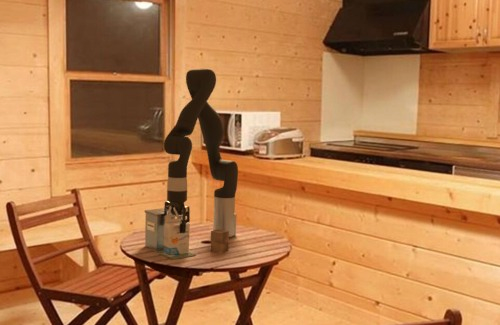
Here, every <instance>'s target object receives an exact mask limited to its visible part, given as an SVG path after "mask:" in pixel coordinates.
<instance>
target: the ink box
mask: <svg viewBox="0 0 500 325" xmlns="http://www.w3.org/2000/svg"><path fill="white" fill-rule="evenodd" d="M174 216H175V215H172V214H171V215H166V216H165V228H164V253H166V254H168V255H178V254H186V253H189V252H190V250H189V247H190V230H191V228H190V227H191V226H190V222H187V223H186V232H185V233H180V221H179V219H178V218H177V216H175V219H171V218H172V217H174ZM181 219H182V218H181Z"/></svg>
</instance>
